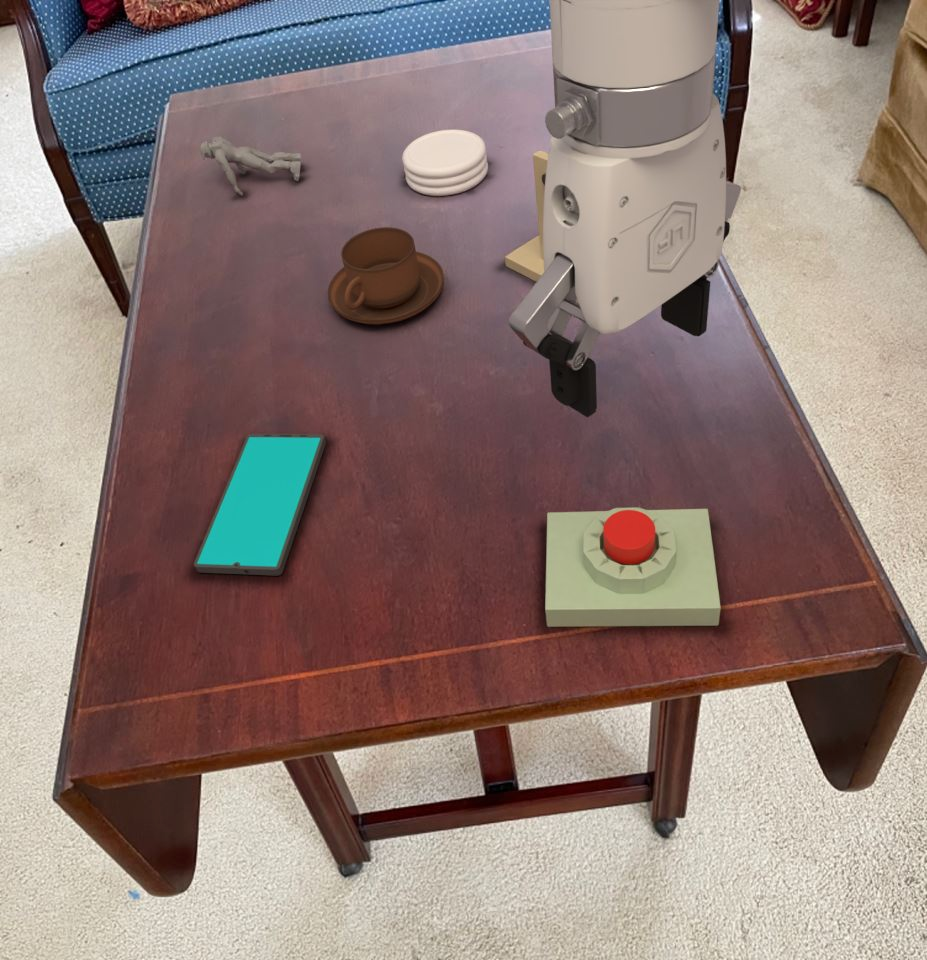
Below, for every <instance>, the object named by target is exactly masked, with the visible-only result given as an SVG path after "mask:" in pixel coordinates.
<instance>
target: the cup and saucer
mask: <svg viewBox="0 0 927 960" xmlns="http://www.w3.org/2000/svg"><path fill="white" fill-rule="evenodd" d="M340 252H341V253H340V257H341V260H342V264H343V267H342V268H341V269H340V270H338V272H337V273H336V274H335V275H333V277H332V279H331V281H330V282H329V285H328V287H327V298H328V301H329V303H330V306H331V307H332V308H333V310H334V311H335V312H336V313H337V314H338V315H340V316H341V317H343V318H345V319H346V320H350V321H352V322H355V323H359V324H364V325H387V324H392V323H398V322H401V321H405V320H407V319H410V318H412V317H414V316H416V315H418V314H419V313H421V312H423V311H424V310H426V309H427V308H428V307H429V306H431V305H432V304H433V302H435V301H436V300H437V298H438V297H439V295H440V294H441V292H442V289H443V287H444V281H445V273H444V270H443V268H442V266H441V265H440V263H439V262H438V261H437V260H436V259H435V258H433V257H432V256H429V255H428V254H426V253H423V252H420V251H417V250H416V244H415V239H414V238H413V236H412V235H411V233H409V232H408V231H406V230H404V229H401V228H397V227H390V226H389V227H388V226H387V227H386V226H384V227H383V226H382V227H375V228H370V229H367V230H364V231H362V232H359V233H357V234H355V235H354V236H352V237H351V238H350V239H348V240H347V241H346V242H345V244H344V245H343V247H341V251H340Z"/></svg>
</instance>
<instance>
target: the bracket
mask: <svg viewBox="0 0 927 960" xmlns="http://www.w3.org/2000/svg"><path fill="white" fill-rule="evenodd" d="M548 153H549V152H546V151H543V150H538V151H536V152H534V153H533V154H532V159H533V160H532V162H533V172H534V173H533V174H534V175H533V176H534V187H535V189H534V190H535V202H536V213H537V226H538V235H537V236H535V237H533V238H532V239H530V240H528V241H526V242H525V243H524V244H522V245H521V246H519V247H518V248H516V249H515V250H513V251H511V252H510V253H508V254H507V255H505V256H504V262H505V266H506V267H507V268H509V269H511V270H513V271H515V272H517V273H518V274H520V275H522V276H524V277H526V278H528V279H529V280H532V281H533V282H535V283H536V282H537V281H538V280H539V278H540V277H541V276H542V275H543V273H544V258H543V209H544V192H545V179H546V169H547V160H548ZM576 302H577V303H579V302H578V300H576Z"/></svg>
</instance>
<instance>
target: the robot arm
mask: <svg viewBox="0 0 927 960" xmlns="http://www.w3.org/2000/svg"><path fill="white" fill-rule="evenodd" d="M719 10H720V0H549V18H550V19H549V20H550V34H551V35H550V36H551V37H550V38H551V39H550V40H551V58H552V59H551V60H552V72H553V73H552V75H553V93H554V108H552V109H550V110H549V111H547V112H546V114H545V116H544V119H545V120H544V123H545V125H546V126H545V127H546V129H547V132H548V133H549V134H550V135H551V137H550V140H549V148H548V152H547V153H548V160H547V169H546V179H545V192H544V209H543V258H544V273H543V275H542V276H541V277H540V278H539V280H538V281H537V282H536V281H535V284H533V286H532V287H531V289H529V291H528V293H526V295H525V296H524V298H523V299H522V301H520V303H519V304H518V305H517V307H516V308H515V309H514V310H513V312H512V313H511V315H510V316H509V319H508V327H509V328H510V329H511V330H512V331H513V332H514V333H515V335H517V337H518V338H519V339H520V340H521V341H522V343H523V345H524V346H525V347H527V348H528V349H530V350H532V351H533V352H535V353H537V354H538V355H540V356H541V357H543V358H545V359H547V360H548V362H549V374H550V375H549V376H550V389H551V394H552V395H553V397H554V398H555V400H557V401H558V402H559V403H560V404H562V405H564V406H565V407H570V408H571V409H573V410H574V411H576V412H578V413H579V414H580V415H582V416H584V417H585V418H590V417H591V416H593V415H594V414H595V413H596V412H597V408H598V401H597V399H598V395H597V394H598V393H597V364H596V362H595V361H594V360H593V359H592V358H590V357H589V356H590V354H591V352H592V350H593V348H594V346H595V344H596V341H597V340H598V337H599V335H600V334H602V335H612V334H616V333H618V332H621V331H622V330H625V329H627V328H629V327H630V326H632V325H633V324H636V323H637V322H638V321H639V320H641V319H642V318H645V317H646V316H647V315H649V314H650V313H652V312H654V311H655V310H656V309H657V308H659V307H660V317H661V319H662V320H663V321H665V322H667V323H669V324H671V325H672V326H674V327H676V328H678V329H679V330H681V331H683V332H685V333H688V334H689V335H690V336H693V337H701V336H702V335H704V334H705V333H706V332H707V328H708V318H709V317H708V316H709V305H710V293H711V281H710V280H709V279H711V278H712V277H713V276H714V275H716V273H717V271H718V269H719V265H720V260H719V259H720V257H721V255H722V252H723V247H724V246H723V245H724V242H725V240H726V238H727V237H728V236H729V235H730V228H731V225H730V223H729V222H728V220H729V219H732V216H733V213H734V211H735V208H736V205H737V203H738V200H739V197H740V194H741V191H742V187H741V185H740V184H737V183H734V182H732V181H729V180H727V157H726V156H727V154H726V138H725V137H726V136H725V130H724V123H723V115H722V110H721V106H720V100H719V98H718V97H717V96H716V94H714V81H715V67H716V51H717V50H716V48H717V37H718V25H719ZM576 300H578V302H579V303H577V302H576ZM571 317H574V318H576V319H578V320H579V321H581V325H580V327H579V329H578V331H577V333H576V335H575V337H574V338H573V339H574V340H573V341H571V340H569V339H568V338H566V337H565V336H563V335H564V333H565V330H566V329H567V327H568V325H569V322H570V320H571Z"/></svg>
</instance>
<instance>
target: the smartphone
mask: <svg viewBox="0 0 927 960" xmlns="http://www.w3.org/2000/svg"><path fill="white" fill-rule="evenodd" d="M326 444H327V441H326V438H325V435H324V434H322V433H249V434H247V435H246V437H245V439H244V442H243V444H242V446H241V449H240V452H239V454H238V456H237V459H236V460H235V463H234V466H233V469H232V470H231V473H230V476H229V477H228V480H227V483H226V485H225V487H224V490H223V493H222V495H221V497H220V499H219V502H218V505H217V506H216V509H215V512H214V513H213V516H212V519H211V521H210V523H209V526H208V528H207V530H206V533H205V536H204V538H203V540H202V543H201V544H200V547H199V550H198V552H197V555H196V557H195V559H194V562H193V566H194V568H195V570H196V572H197V573H201V574H223V575H224V574H225V575H226V574H227V575H250V576H251V575H252V576H274V577H275V576H281V575H282V574H283V572H284V569H285V565H286V564H287V561H288V558H289V556H290V552H291V548H292V545H293V542H294V540H295V537H296V533H297V531H298V528H299V525H300V522H301V519H302V515H303V514H304V510H305V507H306V504H307V501H308V499H309V495H310V492H311V489H312V487H313V484H314V480H315V477H316V473H317V471H318V469H319V465H320V462H321V460H322V459H321V458H322V457H323V454H324V451H325V447H326Z"/></svg>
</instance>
